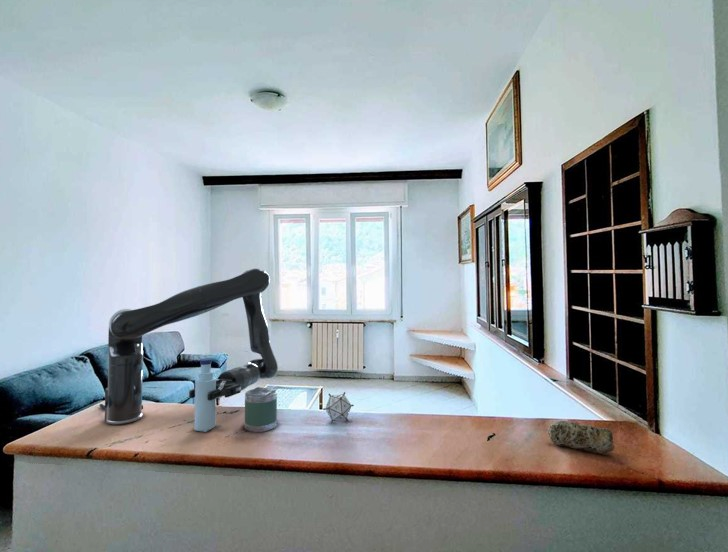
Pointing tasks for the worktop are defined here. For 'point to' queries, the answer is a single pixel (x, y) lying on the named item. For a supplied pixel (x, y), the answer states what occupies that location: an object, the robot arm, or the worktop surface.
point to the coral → (581, 437)
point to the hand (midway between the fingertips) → (199, 395)
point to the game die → (338, 407)
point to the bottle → (204, 398)
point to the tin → (260, 409)
